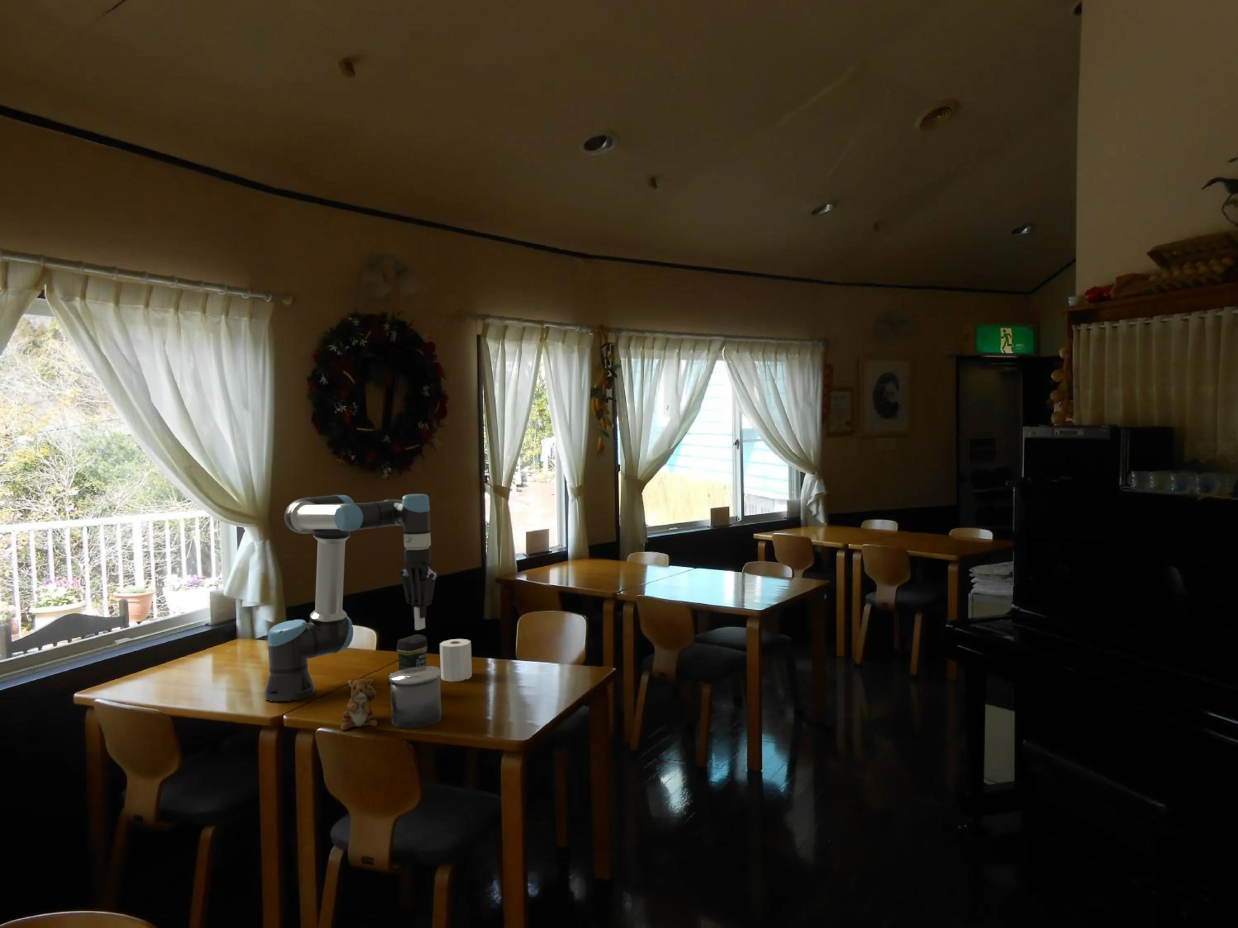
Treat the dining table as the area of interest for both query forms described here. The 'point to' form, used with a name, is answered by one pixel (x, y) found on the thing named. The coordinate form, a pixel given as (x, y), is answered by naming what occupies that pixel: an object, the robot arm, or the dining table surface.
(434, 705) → the cooker pot
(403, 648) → the coffee jar
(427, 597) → the robot arm
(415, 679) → the lid
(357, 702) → the stuffed squirrel
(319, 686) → the dining table surface
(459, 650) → the toilet paper
